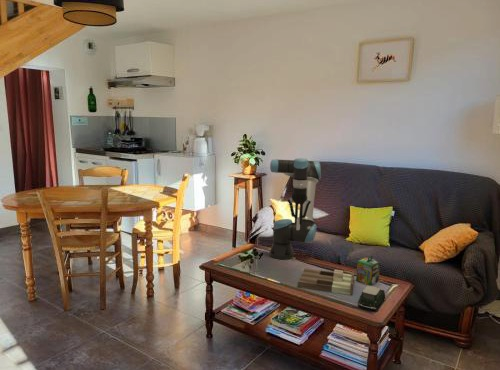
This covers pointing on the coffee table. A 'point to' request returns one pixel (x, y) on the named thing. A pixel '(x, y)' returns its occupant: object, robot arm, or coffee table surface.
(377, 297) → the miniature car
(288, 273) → the coffee table surface
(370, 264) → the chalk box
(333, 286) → the brown striped flat block
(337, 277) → the birch block
